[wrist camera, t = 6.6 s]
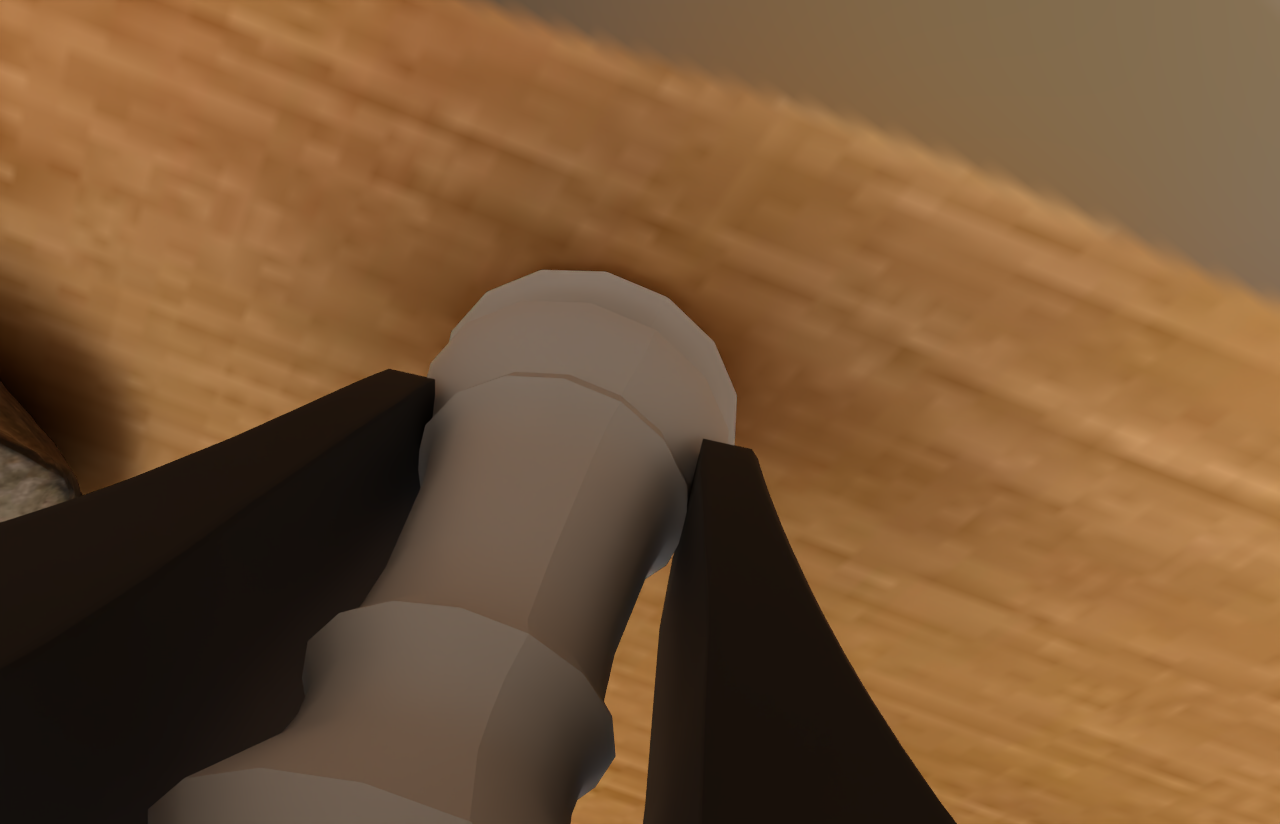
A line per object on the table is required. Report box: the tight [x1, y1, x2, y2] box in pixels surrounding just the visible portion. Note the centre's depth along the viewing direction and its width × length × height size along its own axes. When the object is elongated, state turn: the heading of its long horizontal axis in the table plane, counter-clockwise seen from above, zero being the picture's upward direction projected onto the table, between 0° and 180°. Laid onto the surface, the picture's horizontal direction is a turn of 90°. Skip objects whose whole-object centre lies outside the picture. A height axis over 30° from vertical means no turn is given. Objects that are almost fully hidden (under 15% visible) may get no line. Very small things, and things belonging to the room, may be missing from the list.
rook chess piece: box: [148, 270, 737, 824], centre depth 7 cm, size 4×4×8 cm
